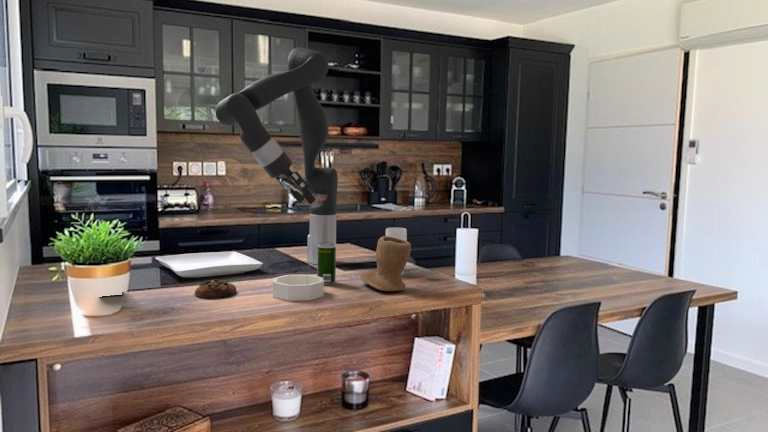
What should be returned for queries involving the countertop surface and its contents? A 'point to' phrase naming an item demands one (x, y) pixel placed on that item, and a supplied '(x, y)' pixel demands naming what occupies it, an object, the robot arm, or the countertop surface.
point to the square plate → (209, 264)
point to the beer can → (326, 262)
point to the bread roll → (215, 289)
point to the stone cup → (389, 264)
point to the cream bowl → (298, 287)
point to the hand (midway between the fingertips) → (307, 201)
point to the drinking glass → (397, 234)
